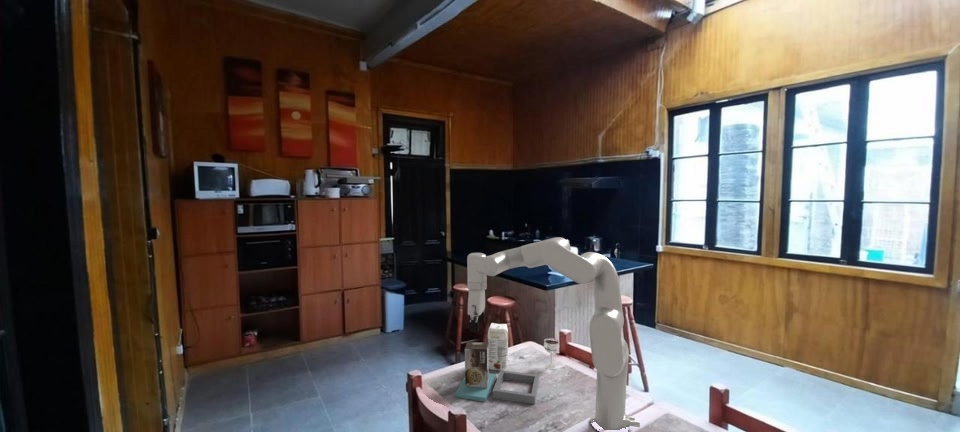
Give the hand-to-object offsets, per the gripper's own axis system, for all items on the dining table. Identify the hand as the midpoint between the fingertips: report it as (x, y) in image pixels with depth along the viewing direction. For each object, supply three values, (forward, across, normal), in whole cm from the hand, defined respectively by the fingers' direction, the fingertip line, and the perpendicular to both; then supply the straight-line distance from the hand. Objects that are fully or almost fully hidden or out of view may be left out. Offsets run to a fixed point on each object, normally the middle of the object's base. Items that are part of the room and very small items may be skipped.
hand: (477, 326), depth 152 cm
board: (+25, 0, -1) cm, 25 cm away
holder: (+25, -2, +15) cm, 30 cm away
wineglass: (+26, -24, +27) cm, 45 cm away
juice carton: (+25, -18, +4) cm, 31 cm away
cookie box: (+24, 0, 0) cm, 24 cm away
